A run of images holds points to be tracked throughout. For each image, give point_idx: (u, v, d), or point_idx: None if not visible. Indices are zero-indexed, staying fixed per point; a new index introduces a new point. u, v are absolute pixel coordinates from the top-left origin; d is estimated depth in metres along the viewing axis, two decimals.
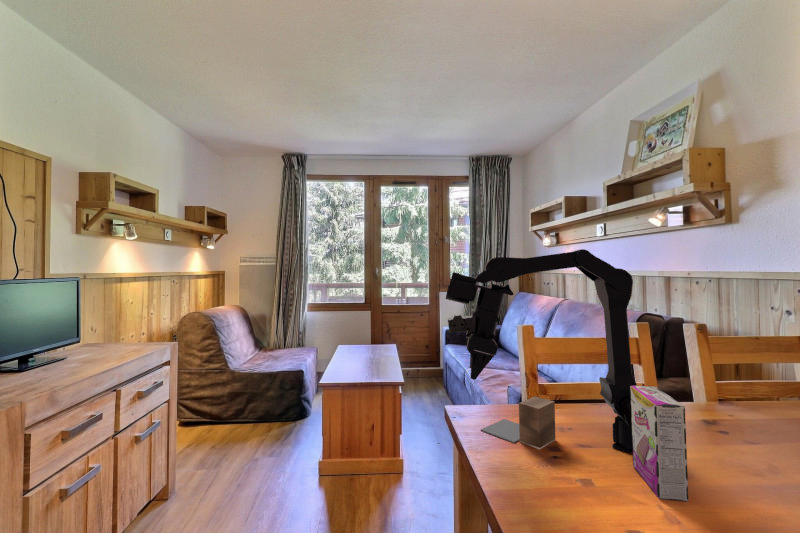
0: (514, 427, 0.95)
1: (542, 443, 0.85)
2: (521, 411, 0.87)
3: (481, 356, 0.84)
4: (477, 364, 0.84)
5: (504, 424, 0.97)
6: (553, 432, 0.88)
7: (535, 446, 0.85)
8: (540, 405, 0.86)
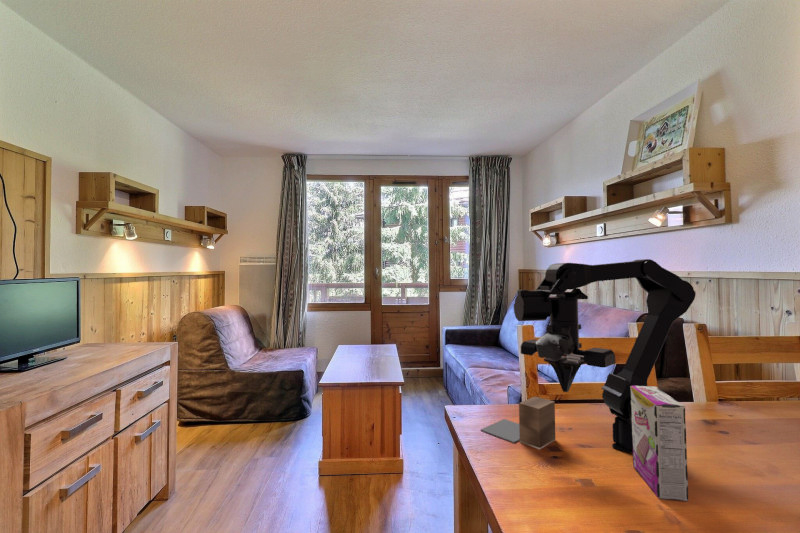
0: (514, 427, 0.95)
1: (542, 443, 0.85)
2: (522, 411, 0.87)
3: (572, 366, 0.82)
4: (571, 375, 0.82)
5: (504, 424, 0.97)
6: (553, 432, 0.88)
7: (535, 446, 0.85)
8: (540, 405, 0.86)
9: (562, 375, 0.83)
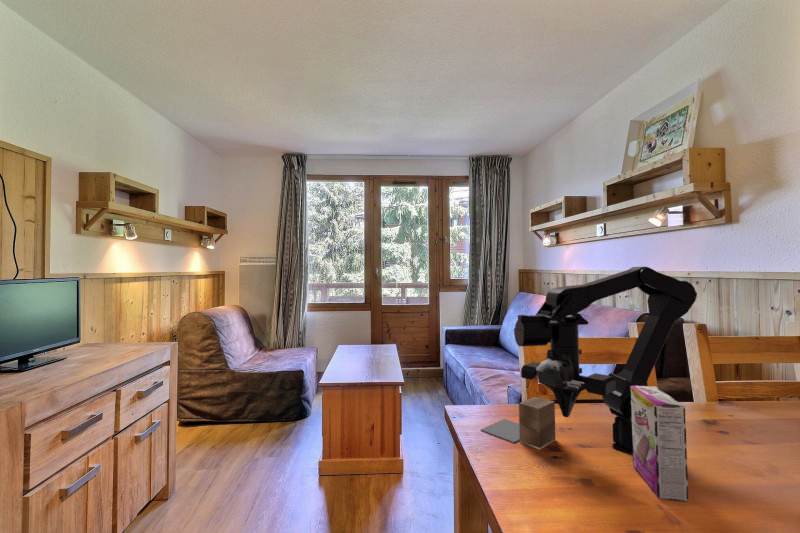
0: (514, 427, 0.95)
1: (542, 443, 0.85)
2: (522, 411, 0.87)
3: None
4: (572, 400, 0.82)
5: (504, 424, 0.97)
6: (553, 432, 0.88)
7: (535, 446, 0.85)
8: (540, 405, 0.86)
9: (563, 400, 0.83)
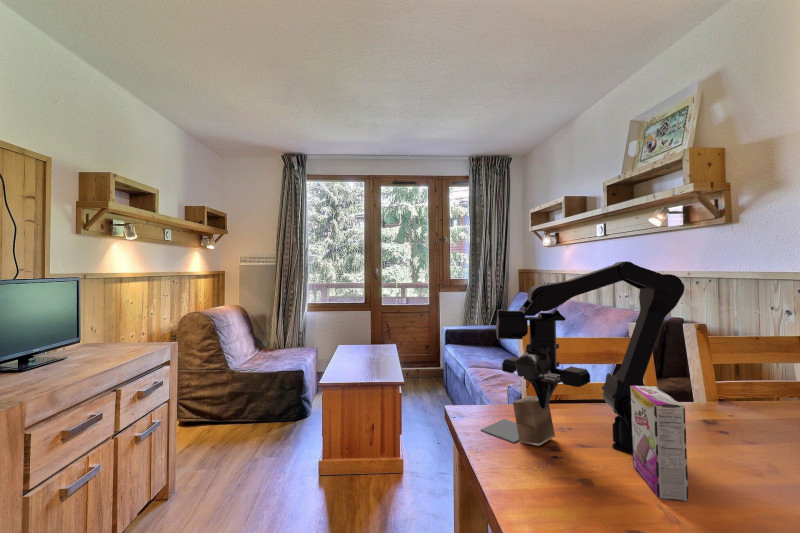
0: (514, 427, 0.95)
1: (541, 439, 0.85)
2: (516, 409, 0.88)
3: (550, 384, 0.86)
4: (549, 393, 0.86)
5: (504, 424, 0.97)
6: (551, 428, 0.88)
7: (534, 443, 0.85)
8: (533, 400, 0.88)
9: (541, 393, 0.86)
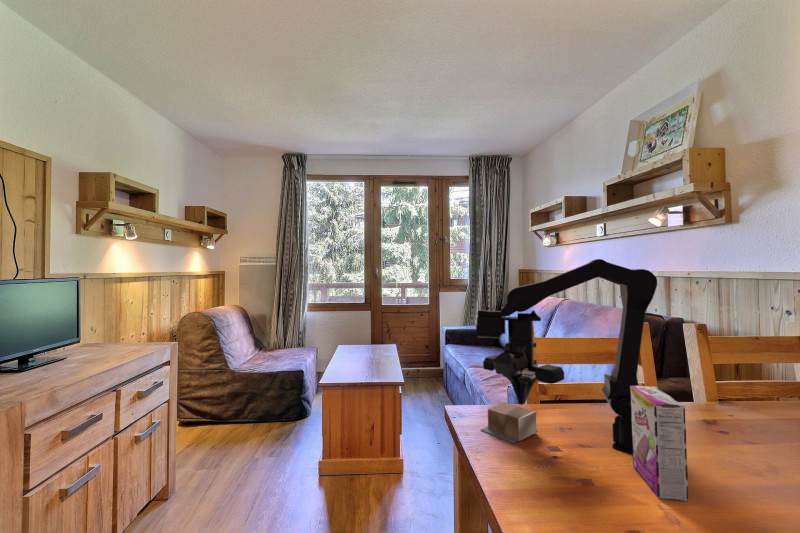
0: None
1: (518, 416, 0.89)
2: (493, 428, 0.93)
3: (527, 381, 0.90)
4: (527, 389, 0.90)
5: None
6: (526, 410, 0.93)
7: (518, 423, 0.88)
8: None
9: (518, 389, 0.91)
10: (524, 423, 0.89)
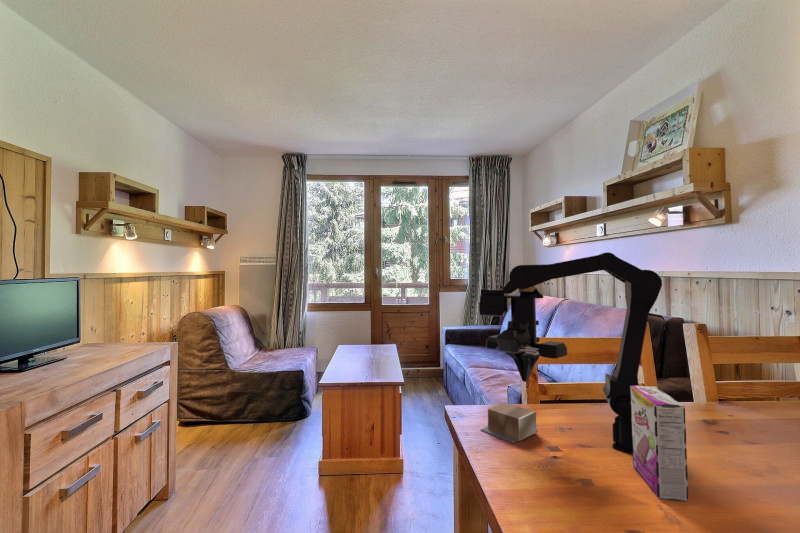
0: None
1: (518, 416, 0.89)
2: (493, 428, 0.93)
3: (530, 358, 0.91)
4: (530, 366, 0.91)
5: None
6: (526, 410, 0.93)
7: (518, 423, 0.88)
8: None
9: (522, 366, 0.91)
10: (524, 423, 0.89)
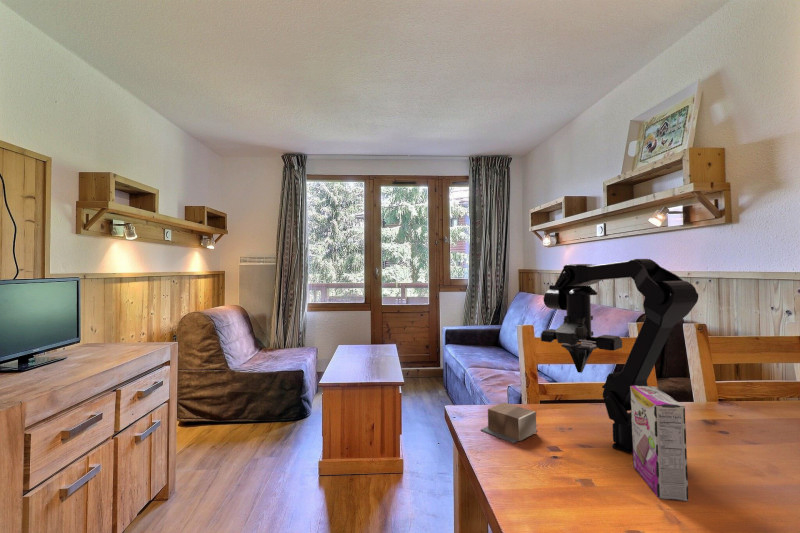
0: None
1: (518, 416, 0.89)
2: (493, 428, 0.93)
3: (585, 351, 0.98)
4: (585, 358, 0.97)
5: None
6: (526, 410, 0.93)
7: (518, 423, 0.88)
8: None
9: (577, 358, 0.98)
10: (524, 423, 0.89)
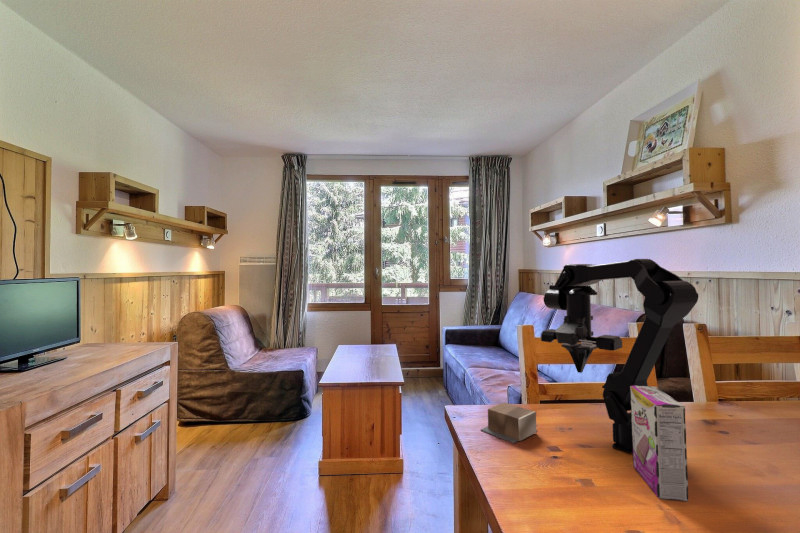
0: None
1: (518, 416, 0.89)
2: (493, 428, 0.93)
3: (585, 351, 0.98)
4: (585, 358, 0.97)
5: None
6: (526, 410, 0.93)
7: (518, 423, 0.88)
8: None
9: (577, 358, 0.98)
10: (524, 423, 0.89)
